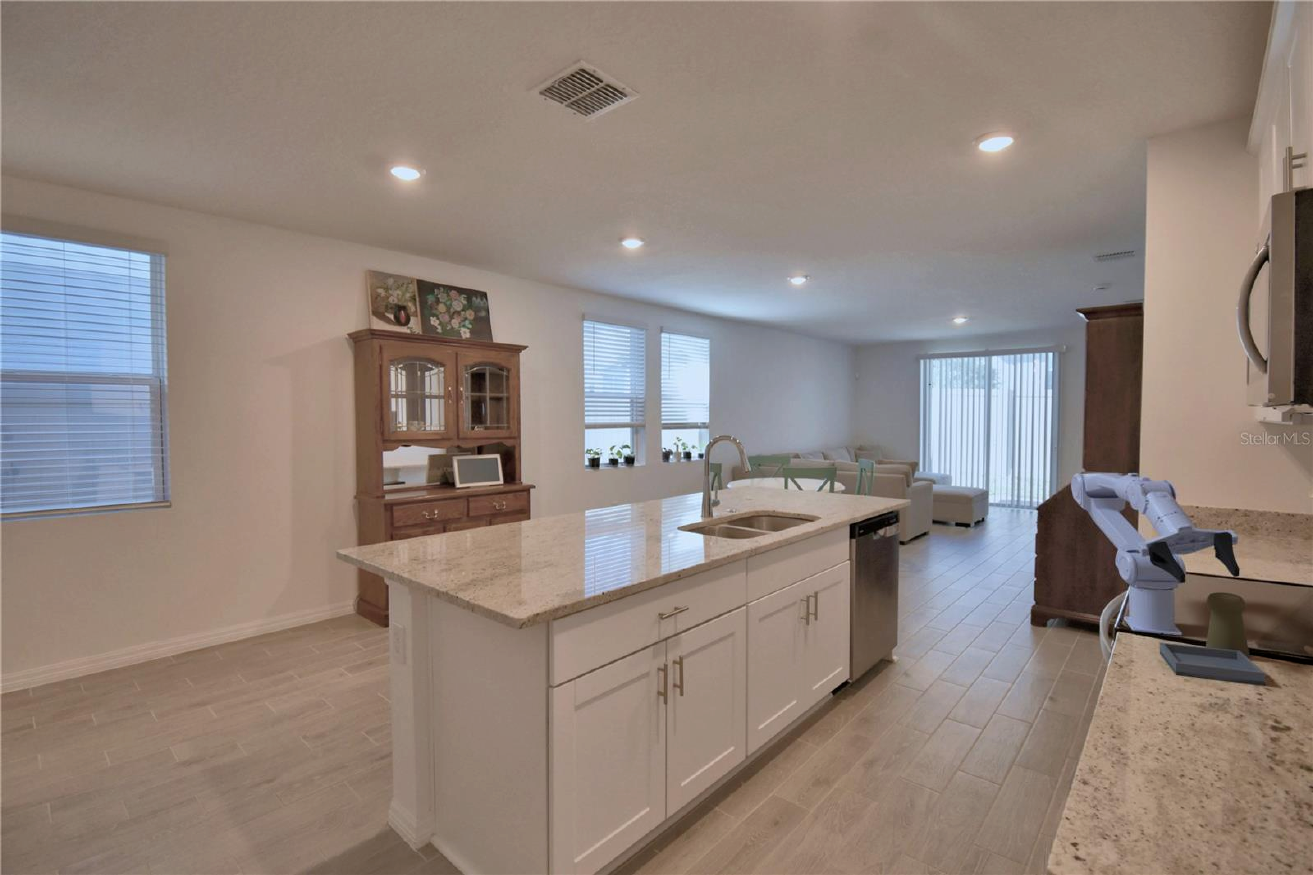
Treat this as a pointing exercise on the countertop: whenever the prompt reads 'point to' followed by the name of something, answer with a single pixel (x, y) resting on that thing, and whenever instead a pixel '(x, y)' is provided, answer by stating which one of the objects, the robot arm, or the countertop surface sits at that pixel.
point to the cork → (1227, 623)
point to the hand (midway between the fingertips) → (1209, 575)
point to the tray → (1211, 663)
